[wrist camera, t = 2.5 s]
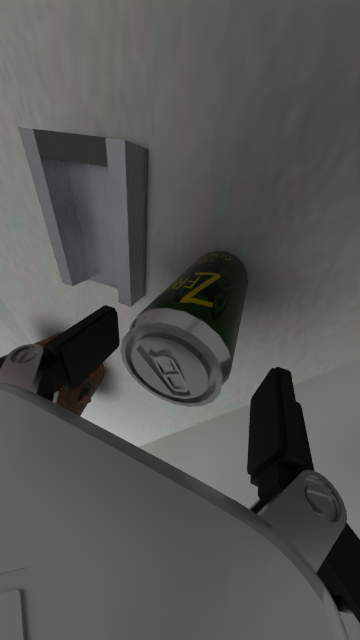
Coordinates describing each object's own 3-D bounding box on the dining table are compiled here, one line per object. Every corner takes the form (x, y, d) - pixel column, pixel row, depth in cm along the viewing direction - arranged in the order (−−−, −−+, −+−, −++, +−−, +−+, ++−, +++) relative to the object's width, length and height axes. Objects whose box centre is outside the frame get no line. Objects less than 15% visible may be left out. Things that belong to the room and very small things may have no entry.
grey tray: (53, 137, 16) (18, 127, 14) (147, 149, 14) (124, 139, 12) (82, 274, 24) (62, 282, 21) (145, 295, 22) (131, 306, 19)
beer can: (255, 296, 17) (244, 414, 8) (203, 308, 20) (150, 406, 10) (239, 239, 15) (197, 306, 6) (184, 261, 18) (96, 331, 8)
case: (90, 394, 45) (14, 481, 31) (30, 332, 39) (-99, 405, 25) (137, 388, 35) (55, 511, 21) (65, 304, 29) (-114, 397, 15)
